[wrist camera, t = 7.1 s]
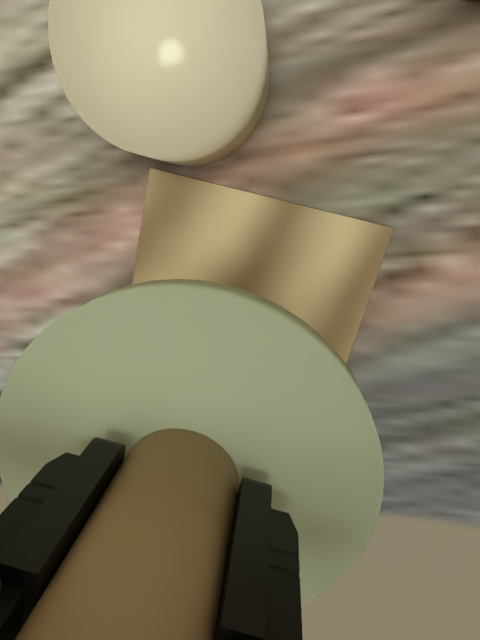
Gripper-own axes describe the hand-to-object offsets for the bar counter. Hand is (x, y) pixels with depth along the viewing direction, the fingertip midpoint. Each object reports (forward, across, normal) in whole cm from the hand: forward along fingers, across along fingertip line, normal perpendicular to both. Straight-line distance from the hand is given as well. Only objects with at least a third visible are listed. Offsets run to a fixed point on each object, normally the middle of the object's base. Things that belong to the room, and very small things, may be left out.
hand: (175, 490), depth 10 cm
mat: (+17, 0, 0) cm, 17 cm away
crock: (+17, +6, -12) cm, 21 cm away
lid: (+1, 0, 0) cm, 1 cm away
